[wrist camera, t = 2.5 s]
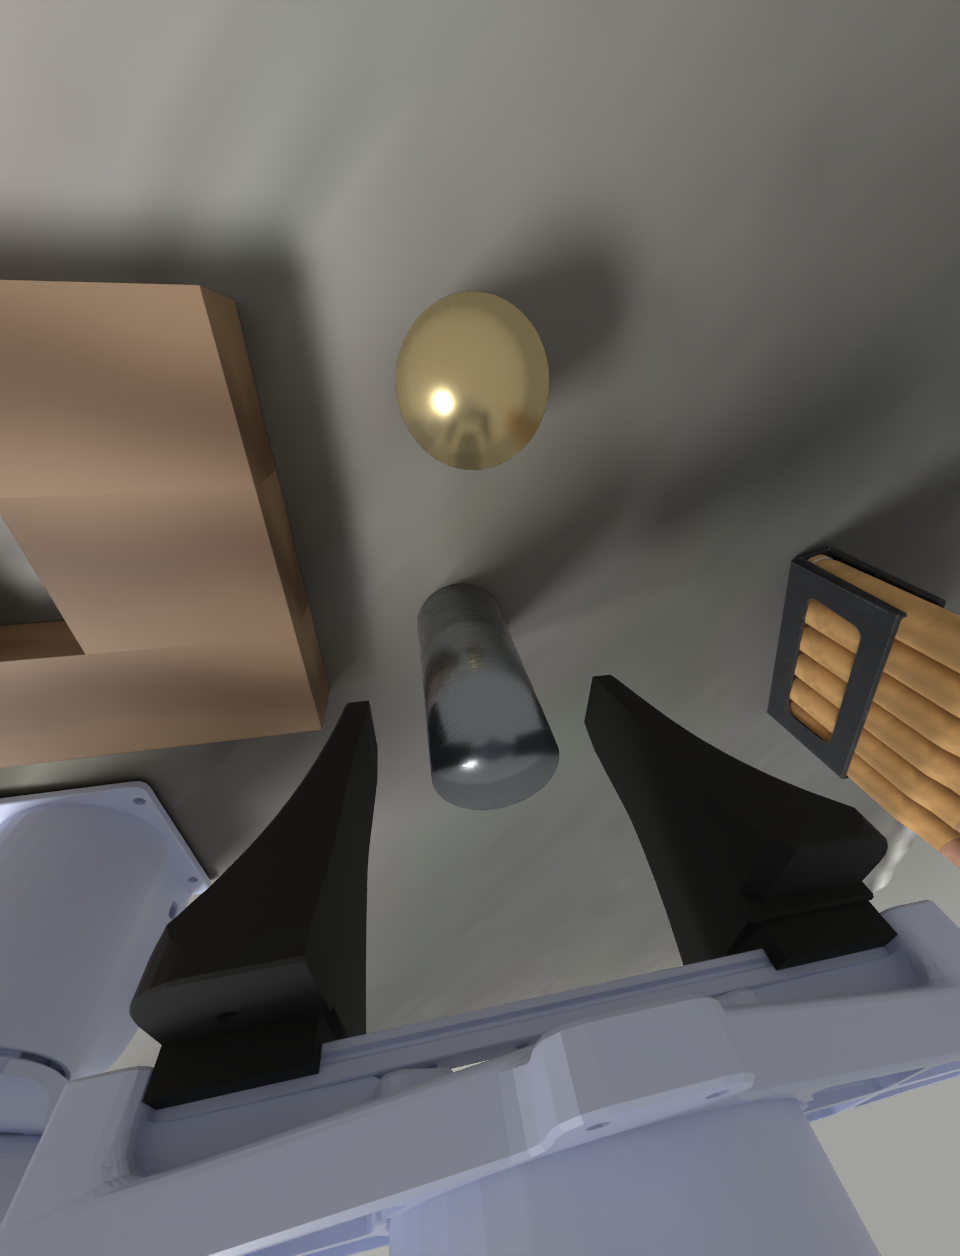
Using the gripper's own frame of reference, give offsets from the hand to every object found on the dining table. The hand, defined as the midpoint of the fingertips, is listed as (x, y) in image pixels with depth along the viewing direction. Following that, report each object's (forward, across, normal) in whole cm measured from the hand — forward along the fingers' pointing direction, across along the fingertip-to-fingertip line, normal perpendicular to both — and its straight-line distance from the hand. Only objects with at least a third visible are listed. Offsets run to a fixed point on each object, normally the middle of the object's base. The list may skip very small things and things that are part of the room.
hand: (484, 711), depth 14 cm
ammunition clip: (+6, -18, +3) cm, 19 cm away
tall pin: (+6, 0, 0) cm, 6 cm away
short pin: (+6, 0, -9) cm, 11 cm away
